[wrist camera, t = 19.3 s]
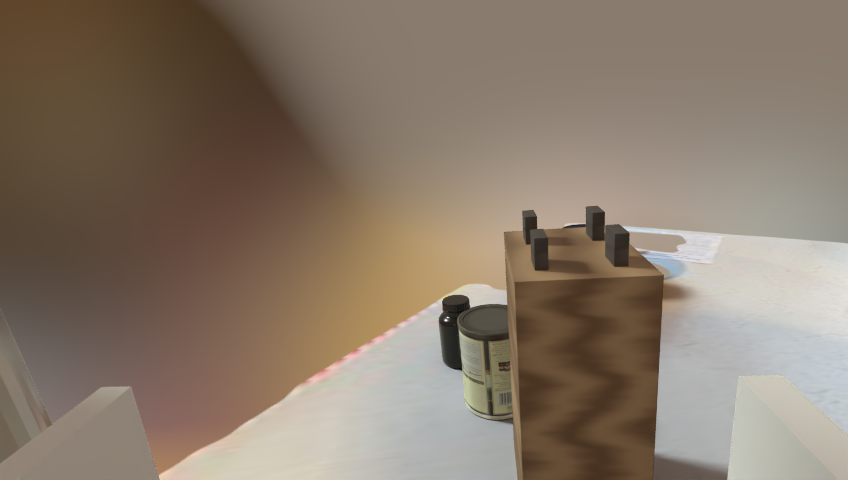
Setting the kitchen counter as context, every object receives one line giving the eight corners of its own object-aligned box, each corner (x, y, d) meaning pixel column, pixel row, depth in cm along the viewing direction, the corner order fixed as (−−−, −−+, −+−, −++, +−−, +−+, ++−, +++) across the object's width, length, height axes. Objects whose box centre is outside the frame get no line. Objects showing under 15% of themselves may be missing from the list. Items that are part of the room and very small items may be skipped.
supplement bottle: (481, 351, 87) (477, 292, 84) (477, 370, 80) (472, 308, 77) (446, 349, 89) (440, 292, 85) (439, 369, 82) (433, 307, 79)
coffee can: (493, 373, 79) (488, 298, 75) (543, 397, 72) (541, 315, 68) (450, 401, 73) (442, 320, 69) (500, 430, 65) (495, 341, 61)
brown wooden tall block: (525, 553, 47) (512, 248, 38) (514, 444, 62) (502, 207, 53) (648, 557, 46) (665, 240, 37) (605, 444, 61) (610, 200, 52)
